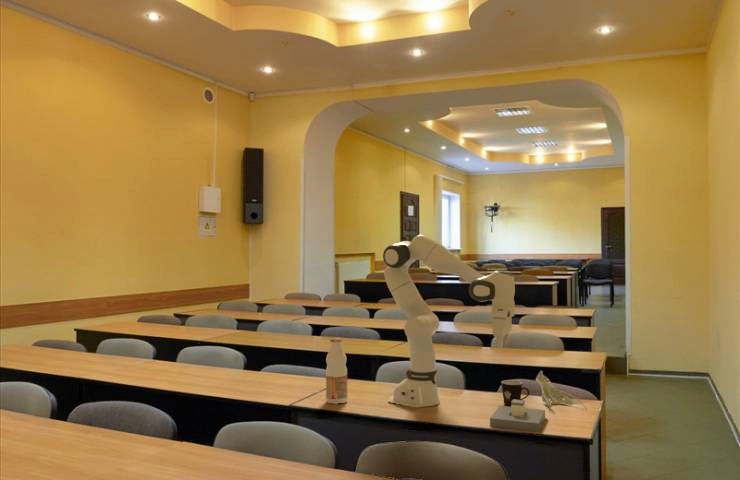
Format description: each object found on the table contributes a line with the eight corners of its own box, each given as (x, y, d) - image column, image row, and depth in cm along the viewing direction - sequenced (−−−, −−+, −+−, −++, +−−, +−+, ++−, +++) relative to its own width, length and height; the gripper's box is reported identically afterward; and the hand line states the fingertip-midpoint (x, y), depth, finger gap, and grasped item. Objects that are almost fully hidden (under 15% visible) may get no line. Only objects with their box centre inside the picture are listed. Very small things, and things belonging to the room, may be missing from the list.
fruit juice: (322, 403, 252) (321, 339, 252) (332, 398, 261) (331, 336, 261) (341, 405, 248) (340, 341, 248) (351, 400, 257) (350, 337, 257)
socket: (490, 426, 218) (490, 418, 218) (499, 412, 234) (499, 405, 234) (539, 431, 211) (538, 423, 211) (545, 417, 227) (545, 410, 227)
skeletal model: (554, 414, 232) (528, 363, 249) (546, 426, 238) (521, 376, 255) (588, 410, 236) (560, 360, 254) (579, 422, 242) (552, 372, 260)
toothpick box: (511, 422, 221) (511, 402, 221) (513, 419, 225) (513, 399, 225) (523, 424, 219) (522, 403, 220) (525, 420, 224) (524, 400, 224)
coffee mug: (497, 404, 247) (497, 381, 247) (514, 402, 250) (514, 379, 250) (513, 411, 236) (513, 387, 236) (531, 409, 239) (530, 385, 239)
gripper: (500, 307, 242) (499, 340, 242) (489, 313, 223) (489, 348, 224) (515, 308, 239) (515, 341, 240) (506, 314, 221) (505, 350, 221)
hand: (502, 345), depth 231 cm, fingers open, 8 cm apart
